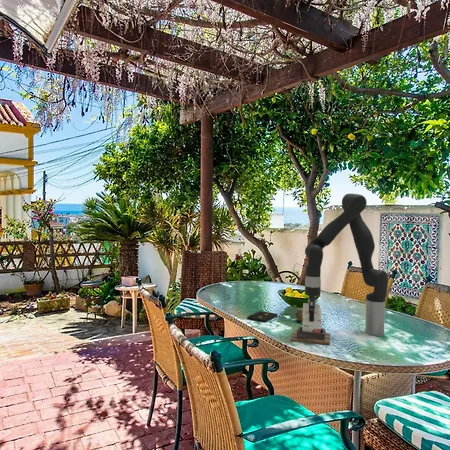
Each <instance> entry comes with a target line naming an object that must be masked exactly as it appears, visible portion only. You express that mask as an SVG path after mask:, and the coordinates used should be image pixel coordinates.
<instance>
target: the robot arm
mask: <svg viewBox="0 0 450 450" xmlns="http://www.w3.org/2000/svg"><path fill="white" fill-rule="evenodd" d="M341 207H342V210H343V211H342V213H341V214H339V215H338V216H337V217H336V218H334V219H333V220H331V221H330V222H329V223H327V225H326V226H325V227H324V228H323V229H322V230H321V232H320V233H319V234H318V235H317V236H316V237H315V238H314V239H312V240H311V241H310V242H309V243H308V244H307V245H306V247H305V248H304V249H305V250H304V254H305V256H306V257H308V263H307V264H306V266H305V280H304V295H306V296H309V298H308V299H307V303H308V308H309V321H311V322H313V321H314V313H315V312H314V309H315V308H316V304H317V301H318V299H317V298H316V297H319V296H321V292H322V291H321V288H322V287H321V286H322V285H321V284H322V281H321V280H322V279H321V276H322V275H321V271H322V269H321V267H322V263H323V258H324V251H323V249H324V248H325V247H327V246H329V245H331V243H333V241H334V240H335V239H336V238H337V236H338V235H339V234H340V233H341V232H342V231H343V230H344V228H345V227H347V226H348V225H349V228H350V231H351V235H352V238H353V243H354V245H355V250H356V252H357V256H358V259H359V263H360V267H361V274H362V279H363V282H364V284H365V285H367V286H368V287H373V288H374V289H373V291H372V292H370V293H367V294H366V297H365V326H364V332H365V334H367V335H369V336H376V337H381V336H384V335H385V324H386V323H385V320H386V317H385V315H386V314H385V313H386V299H387V295H388V284H389V278H388V277H389V276H388V273H387V272H386V271H385V270H381V269H376V268H374V266H373V260H372V259H373V255H374V251H375V250H376V249H375V246H376V245H375V241H374V240H375V239H374V237H373V233H372V232H371V229H370V228H369V226H367V224H366V222H365V221H364V219H363V217H362V214H361V213H362V212H363V211H364V210H365V209H366V207H367V198H366V197H365V196H364V195H362V194H360V193H359V194H358V193H347V194H346V193H345V194H344V195H343V197H342V199H341ZM314 304H315V305H314ZM310 309H313V311H310Z"/></svg>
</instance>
